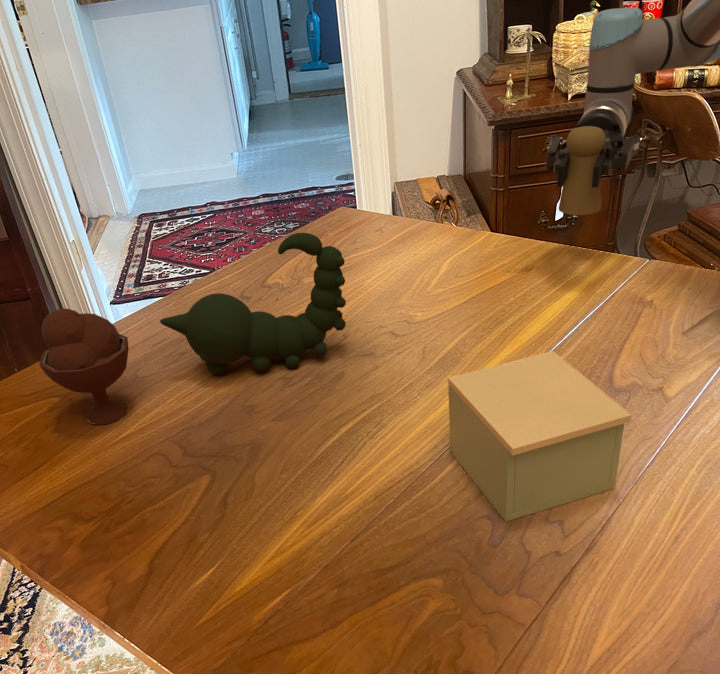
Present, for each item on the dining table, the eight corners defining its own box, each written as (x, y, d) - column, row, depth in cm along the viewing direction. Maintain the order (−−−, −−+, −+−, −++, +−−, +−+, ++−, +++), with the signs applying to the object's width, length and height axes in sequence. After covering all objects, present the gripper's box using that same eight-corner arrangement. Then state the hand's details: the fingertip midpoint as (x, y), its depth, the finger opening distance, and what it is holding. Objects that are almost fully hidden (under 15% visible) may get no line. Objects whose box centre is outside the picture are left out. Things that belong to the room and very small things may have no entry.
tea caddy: (614, 488, 76) (625, 417, 71) (505, 522, 74) (508, 451, 68) (547, 423, 87) (552, 357, 81) (449, 450, 84) (448, 384, 79)
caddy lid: (630, 421, 70) (631, 414, 70) (512, 455, 68) (512, 448, 67) (552, 356, 81) (552, 350, 81) (448, 384, 79) (447, 377, 78)
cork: (574, 199, 112) (580, 120, 105) (609, 205, 108) (618, 124, 101) (550, 210, 109) (555, 130, 102) (585, 217, 105) (593, 135, 98)
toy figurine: (339, 346, 110) (170, 360, 107) (337, 219, 99) (147, 230, 96) (350, 376, 103) (168, 392, 100) (348, 242, 92) (143, 255, 88)
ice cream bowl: (94, 446, 92) (52, 338, 83) (50, 418, 98) (7, 315, 89) (163, 408, 97) (131, 303, 88) (118, 384, 104) (83, 284, 95)
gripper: (652, 158, 117) (639, 206, 100) (543, 157, 123) (514, 203, 106) (659, 106, 112) (647, 147, 95) (546, 108, 118) (516, 147, 101)
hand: (577, 176), depth 101 cm, fingers closed on cork, 4 cm apart
